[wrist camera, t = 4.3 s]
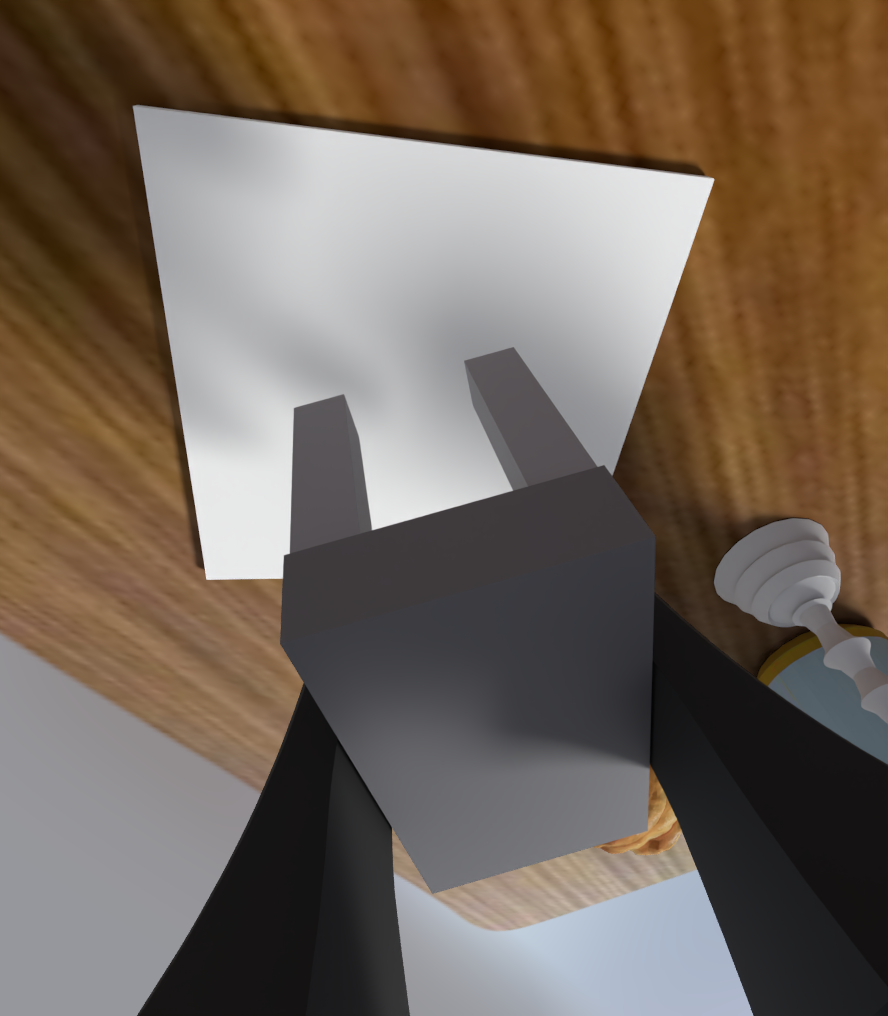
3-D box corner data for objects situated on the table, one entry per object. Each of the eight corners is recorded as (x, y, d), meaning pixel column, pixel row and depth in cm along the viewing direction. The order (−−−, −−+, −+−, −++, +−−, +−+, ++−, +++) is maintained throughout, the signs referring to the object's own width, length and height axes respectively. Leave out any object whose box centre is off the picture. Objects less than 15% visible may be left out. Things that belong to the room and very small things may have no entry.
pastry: (506, 779, 34) (524, 849, 31) (594, 716, 32) (622, 785, 29) (607, 813, 39) (631, 877, 36) (690, 760, 36) (724, 824, 33)
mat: (706, 176, 16) (714, 179, 16) (575, 566, 24) (578, 573, 24) (137, 104, 13) (132, 106, 13) (208, 571, 21) (206, 579, 21)
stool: (550, 608, 16) (647, 830, 12) (395, 652, 16) (432, 893, 12) (512, 337, 11) (655, 537, 7) (290, 399, 11) (279, 643, 7)
